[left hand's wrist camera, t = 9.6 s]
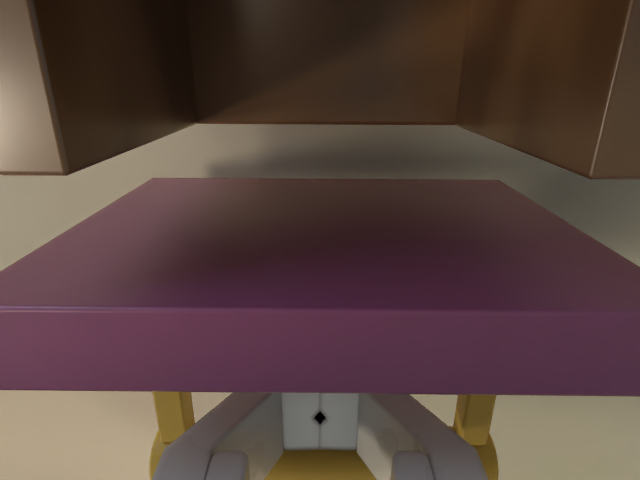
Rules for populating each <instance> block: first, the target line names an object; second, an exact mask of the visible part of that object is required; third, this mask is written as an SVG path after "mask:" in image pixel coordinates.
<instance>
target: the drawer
mask: <svg viewBox="0 0 640 480" xmlns="http://www.w3.org/2000/svg"><path fill="white" fill-rule="evenodd" d="M195 124H333V125H457V126H459V127H462V128H464V129H467V130H469V131H472V132H474V133H477V134H479V135H482V136H484V137H487V138H489V139H492V140H494V141H497V142H499V143H502V144H504V145H507V146H509V147H512V148H514V149H517V150H519V151H522V152H524V153H527V154H529V155H532V156H534V157H537V158H539V159H542V160H544V161H547V162H549V163H552V164H554V165H557V166H559V167H562V168H564V169H567V170H569V171H572V172H574V173H577V174H579V175H582V176H584V177H587V178H589V179H640V0H0V174H1V175H56V176H67V175H69V174H72V173H74V172H77V171H79V170H82V169H84V168H87V167H89V166H92V165H94V164H97V163H99V162H102V161H104V160H107V159H109V158H112V157H114V156H117V155H119V154H122V153H124V152H127V151H129V150H132V149H134V148H137V147H139V146H142V145H144V144H147V143H149V142H152V141H154V140H157V139H159V138H162V137H164V136H167V135H169V134H172V133H174V132H177V131H179V130H182V129H184V128H187V127H189V126H192V125H195ZM0 390H60V391H152V392H153V398H154V403H155V409H156V415H157V421H158V427H159V430H158V432H157V434H156V437H155V440H154V443H153V446H152V451H151V456H150V468H149V469H150V480H152V478H153V475H154V473H155V470H156V468H157V465H158V463H159V461H160V458H161V456H162V453H163V451H164V449H165V448H166V447H167V446H168V445H170V444H171V443H172V442H173V441H174V440H176V439H177V438H178V437H179V436H181V435H182V434H183V433H184V432H185V431H187V430H188V429H189V428H190V427H192V426H193V425H194V423H195V421H194V414H193V406H192V399H191V392H258V393H356V394H455V395H458V399H457V406H456V412H455V419H454V426H448V427H450V428H451V429H452V430H453V431H455V432H456V433H457V434H458V435H459V436H461V437H462V438H463V439H464V440H465V441H467V442H468V443H469V444H470V445H472V446H473V447H474V448H475V449H476V450H477V452H478V455H479V457H480V460H481V462H482V465H483V467H484V469H485V472H486V474H487V477H488V479H489V480H498V460H497V454H496V450H495V446H494V443H493V440H492V438H491V436H490V434H489V430H490V425H491V419H492V414H493V409H494V404H495V399H496V395H554V396H640V267H639V266H637V265H636V264H634V263H632V262H631V261H629V260H627V259H626V258H624V257H623V256H621V255H619V254H618V253H616V252H614V251H613V250H611V249H610V248H608V247H606V246H605V245H603V244H601V243H600V242H598V241H597V240H595V239H593V238H592V237H590V236H589V235H587V234H585V233H584V232H582V231H580V230H579V229H577V228H576V227H574V226H572V225H571V224H569V223H567V222H566V221H564V220H563V219H561V218H559V217H558V216H556V215H554V214H553V213H551V212H550V211H548V210H546V209H545V208H543V207H542V206H540V205H538V204H537V203H535V202H533V201H532V200H530V199H529V198H527V197H525V196H524V195H522V194H520V193H519V192H517V191H516V190H514V189H512V188H511V187H509V186H507V185H506V184H504V183H503V182H501V181H499V180H412V179H255V178H152V179H150V180H149V181H147V182H145V183H144V184H142V185H140V186H139V187H137V188H136V189H134V190H132V191H131V192H129V193H127V194H126V195H124V196H123V197H121V198H119V199H118V200H116V201H114V202H113V203H111V204H110V205H108V206H106V207H105V208H103V209H101V210H100V211H98V212H96V213H95V214H93V215H92V216H90V217H88V218H87V219H85V220H83V221H82V222H80V223H79V224H77V225H75V226H74V227H72V228H70V229H69V230H67V231H66V232H64V233H62V234H61V235H59V236H57V237H56V238H54V239H52V240H51V241H49V242H48V243H46V244H44V245H43V246H41V247H39V248H38V249H36V250H35V251H33V252H31V253H30V254H28V255H26V256H25V257H23V258H22V259H20V260H18V261H17V262H15V263H13V264H12V265H10V266H8V267H7V268H5V269H4V270H2V271H0ZM264 480H376V478H375V477H374V475H373V474H372V473H371V471H370V470H369V469H368V467H367V466H366V464H365V463H364V462H363V460H362V459H361V458H360V456H359V455H358V453H357V451H353V450H287V451H283V454H282V456H281V457H280V458H279V460H278V461H277V462H276V464H275V465H274V466H273V468H272V469H271V471H270V472H269V473H268V475H267V476H266V477H265V479H264Z"/></svg>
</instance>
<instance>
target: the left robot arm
mask: <svg viewBox="0 0 640 480" xmlns="http://www.w3.org/2000/svg"><path fill="white" fill-rule="evenodd" d="M287 450H353V451H357V453H358V455H359V456H360V458H361V459H362V460H363V462H364V463H365V464H366V466H367V467H368V469H369V470H370V471H371V473H372V474H373V475H374V477H375V478H376V480H489V479H488V477H487V474H486V472H485V469H484V467H483V465H482V462H481V460H480V457H479V455H478V452H477V450H476V449H475V448H474V447H473V446H472V445H470V444H469V443H468V442H467V441H465V440H464V439H463V438H462V437H461V436H459V435H458V434H457V433H456V432H455V431H453V430H452V429H451V428H450V427H448V426H447V425H446V424H445V423H444V422H442V421H441V420H440V419H439V418H438V417H436V416H435V415H434V414H433V413H431V412H430V411H429V410H428V409H427V408H425V407H424V406H423V405H422V404H421V403H419V402H418V401H417V400H416V399H414V398H413V397H412V396H411V395H410V394H356V393H258V392H233V393H232V394H231V395H229V396H228V397H227V398H226V399H224V400H223V401H222V402H221V403H220V404H218V405H217V406H216V407H215V408H214V409H212V410H211V411H210V412H209V413H207V414H206V415H205V416H204V417H203V418H201V419H200V420H199V421H198V422H196V423H195V424H194V425H193V426H192V427H190V428H189V429H188V430H187V431H185V432H184V433H183V434H182V435H181V436H179V437H178V438H177V439H176V440H174V441H173V442H172V443H171V444H170V445H168V446H167V447H166V448H165V449H164V451H163V453H162V456H161V458H160V461H159V463H158V465H157V468H156V470H155V473H154V475H153V478H152V480H264V479H265V477H266V476H267V475H268V473H269V472H270V471H271V469H272V468H273V466H274V465H275V464H276V462H277V461H278V460H279V458H280V457H281V456H282V454H283V451H287Z"/></svg>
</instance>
